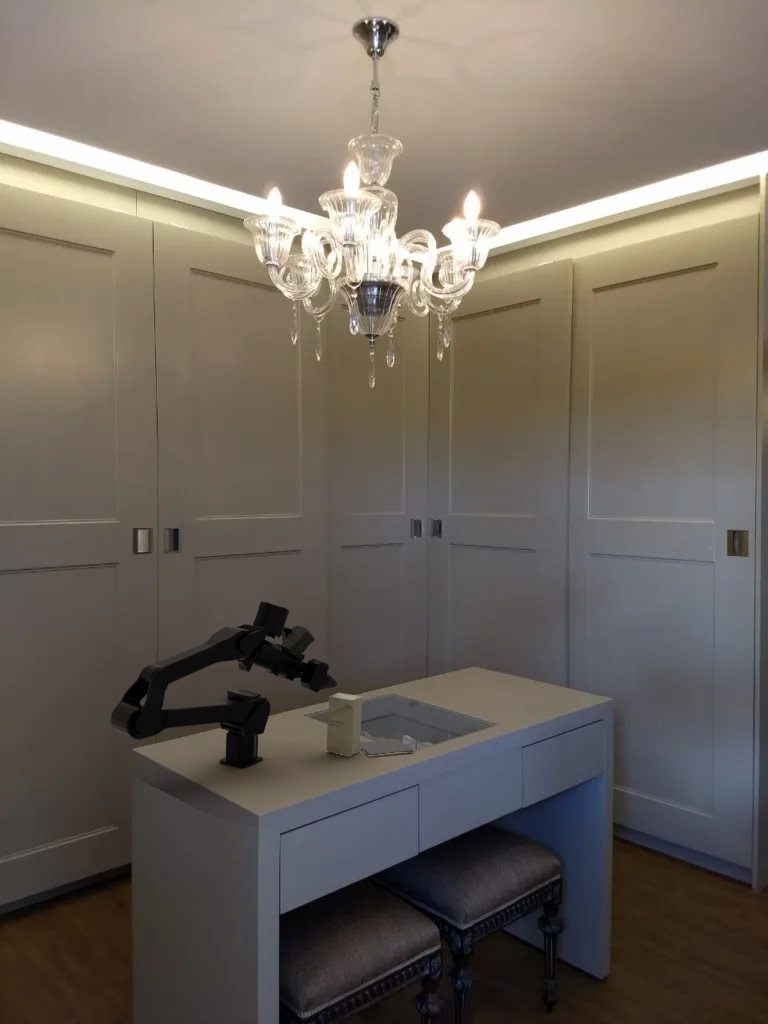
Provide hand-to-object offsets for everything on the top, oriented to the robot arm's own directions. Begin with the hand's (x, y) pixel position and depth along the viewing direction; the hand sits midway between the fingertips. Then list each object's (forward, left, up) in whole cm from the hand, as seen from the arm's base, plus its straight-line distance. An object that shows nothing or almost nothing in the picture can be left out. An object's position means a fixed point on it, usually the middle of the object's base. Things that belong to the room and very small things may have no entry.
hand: (324, 680), depth 172 cm
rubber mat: (+4, -13, -14) cm, 20 cm away
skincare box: (-3, -7, -14) cm, 16 cm away
